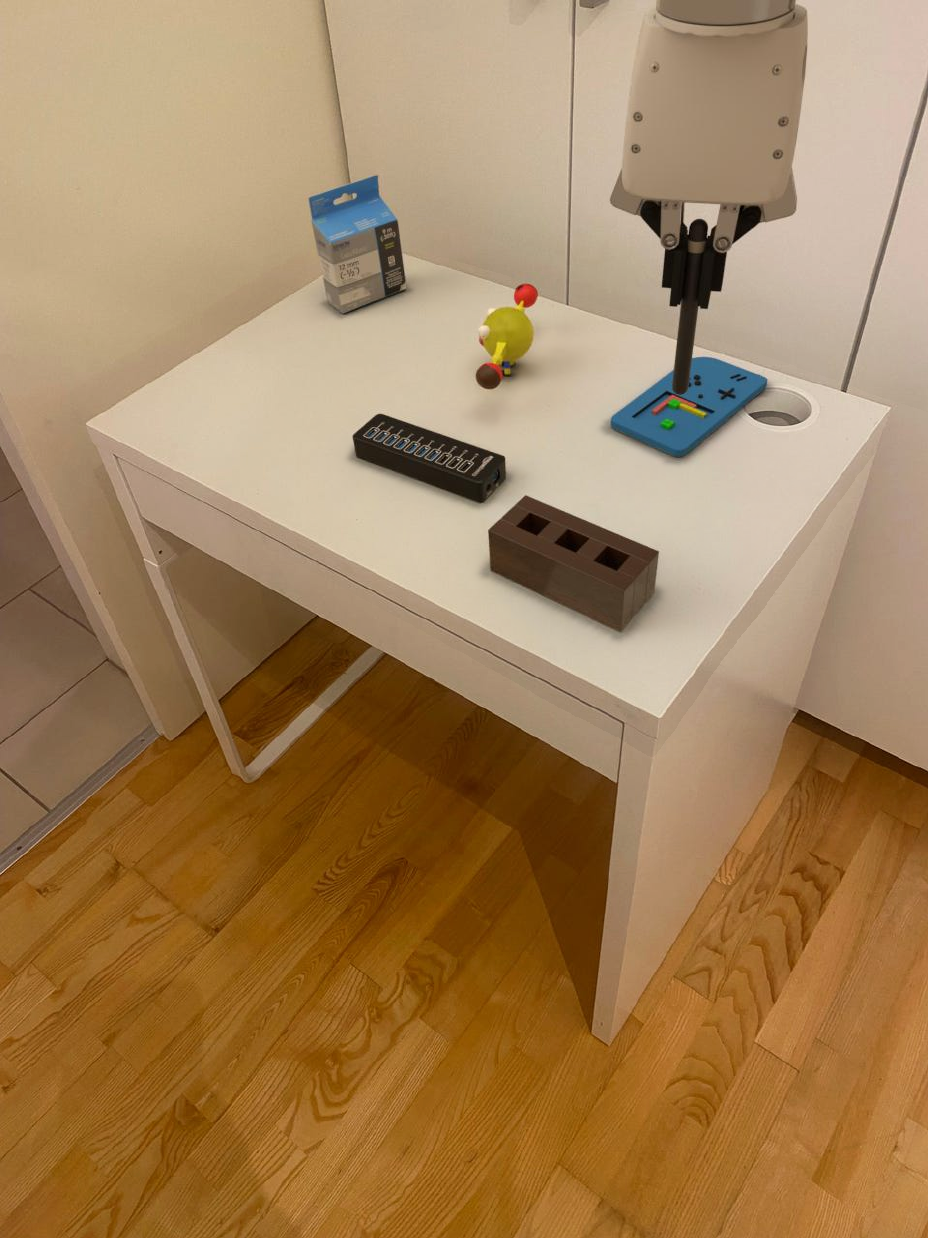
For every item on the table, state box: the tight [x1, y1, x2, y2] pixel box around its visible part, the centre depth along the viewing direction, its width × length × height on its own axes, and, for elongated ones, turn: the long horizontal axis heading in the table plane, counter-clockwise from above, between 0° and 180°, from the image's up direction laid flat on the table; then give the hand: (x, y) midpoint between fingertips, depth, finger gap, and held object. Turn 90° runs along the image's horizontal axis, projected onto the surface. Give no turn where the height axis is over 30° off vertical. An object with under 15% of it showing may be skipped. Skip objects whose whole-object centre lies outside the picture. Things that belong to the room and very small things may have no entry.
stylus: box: [672, 218, 709, 395], centre depth 66 cm, size 1×1×13 cm
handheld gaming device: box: [610, 356, 768, 458], centre depth 92 cm, size 8×1×15 cm
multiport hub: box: [351, 413, 507, 504], centre depth 88 cm, size 4×14×2 cm, turn 56°
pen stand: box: [487, 494, 660, 633], centre depth 76 cm, size 5×12×4 cm, turn 53°
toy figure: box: [475, 283, 539, 390], centre depth 97 cm, size 18×6×7 cm, turn 164°
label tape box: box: [308, 174, 407, 314], centre depth 107 cm, size 9×4×12 cm, turn 124°
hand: (690, 296), depth 66 cm, fingers closed on stylus, 1 cm apart
